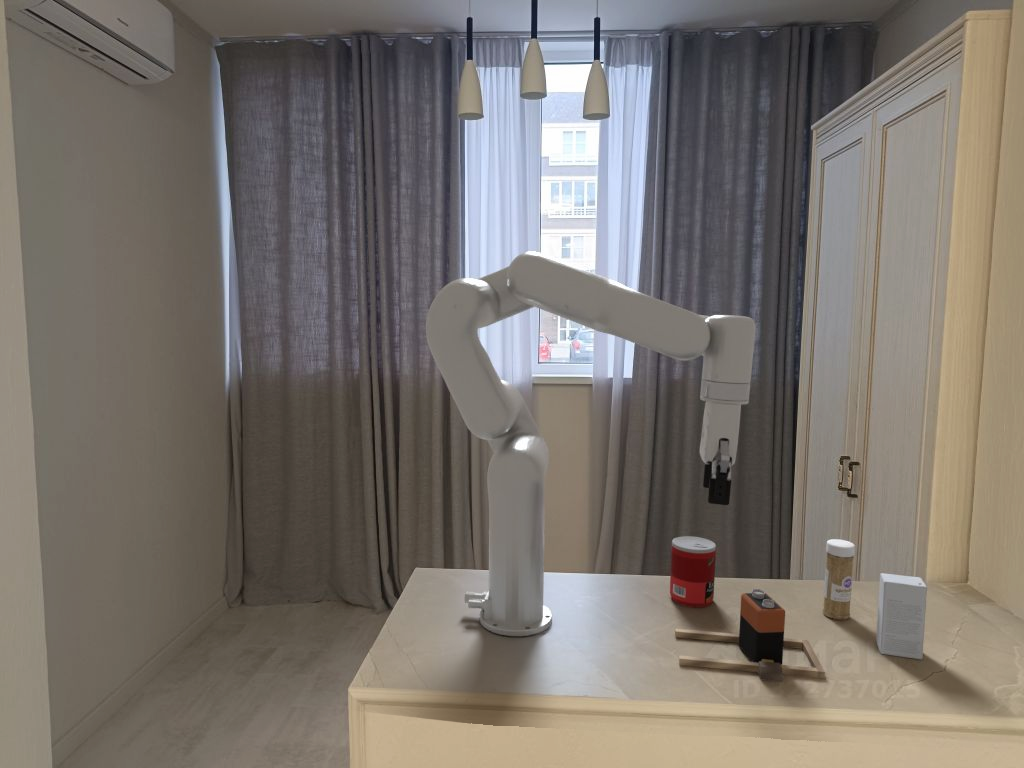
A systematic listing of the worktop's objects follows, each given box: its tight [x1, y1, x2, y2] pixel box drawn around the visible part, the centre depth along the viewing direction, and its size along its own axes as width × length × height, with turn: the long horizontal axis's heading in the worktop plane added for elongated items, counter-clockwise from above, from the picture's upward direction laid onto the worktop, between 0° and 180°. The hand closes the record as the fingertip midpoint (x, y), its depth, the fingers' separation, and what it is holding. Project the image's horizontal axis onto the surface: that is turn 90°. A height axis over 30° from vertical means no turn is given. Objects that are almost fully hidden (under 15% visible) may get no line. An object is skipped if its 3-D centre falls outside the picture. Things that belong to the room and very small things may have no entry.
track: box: [674, 628, 826, 682], centre depth 107 cm, size 21×12×2 cm, turn 80°
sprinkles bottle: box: [822, 538, 856, 621], centre depth 122 cm, size 5×5×13 cm
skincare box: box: [876, 572, 928, 660], centre depth 110 cm, size 6×4×12 cm
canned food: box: [669, 535, 717, 608], centre depth 128 cm, size 8×8×11 cm
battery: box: [738, 588, 786, 665], centre depth 107 cm, size 4×7×10 cm, turn 5°
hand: (715, 495), depth 112 cm, fingers open, 9 cm apart
